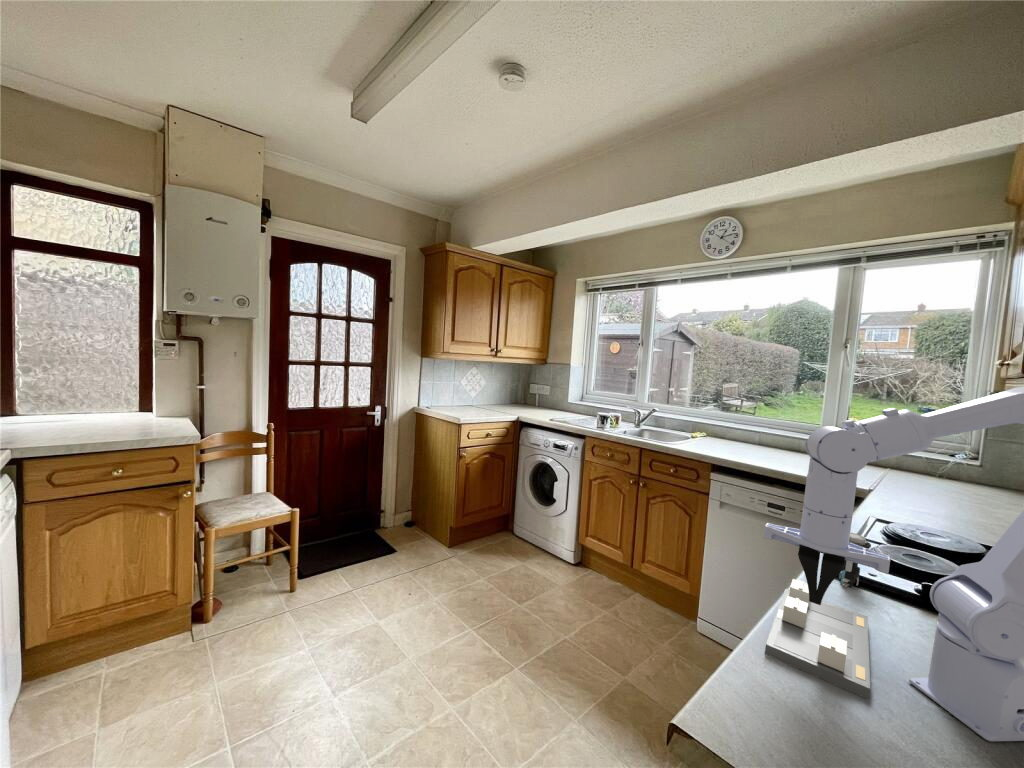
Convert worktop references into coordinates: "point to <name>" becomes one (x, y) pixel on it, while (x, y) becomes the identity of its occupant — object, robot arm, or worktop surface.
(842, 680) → the switch plate
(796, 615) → the middle tab
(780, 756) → the worktop surface
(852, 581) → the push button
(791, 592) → the far tab
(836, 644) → the near tab
